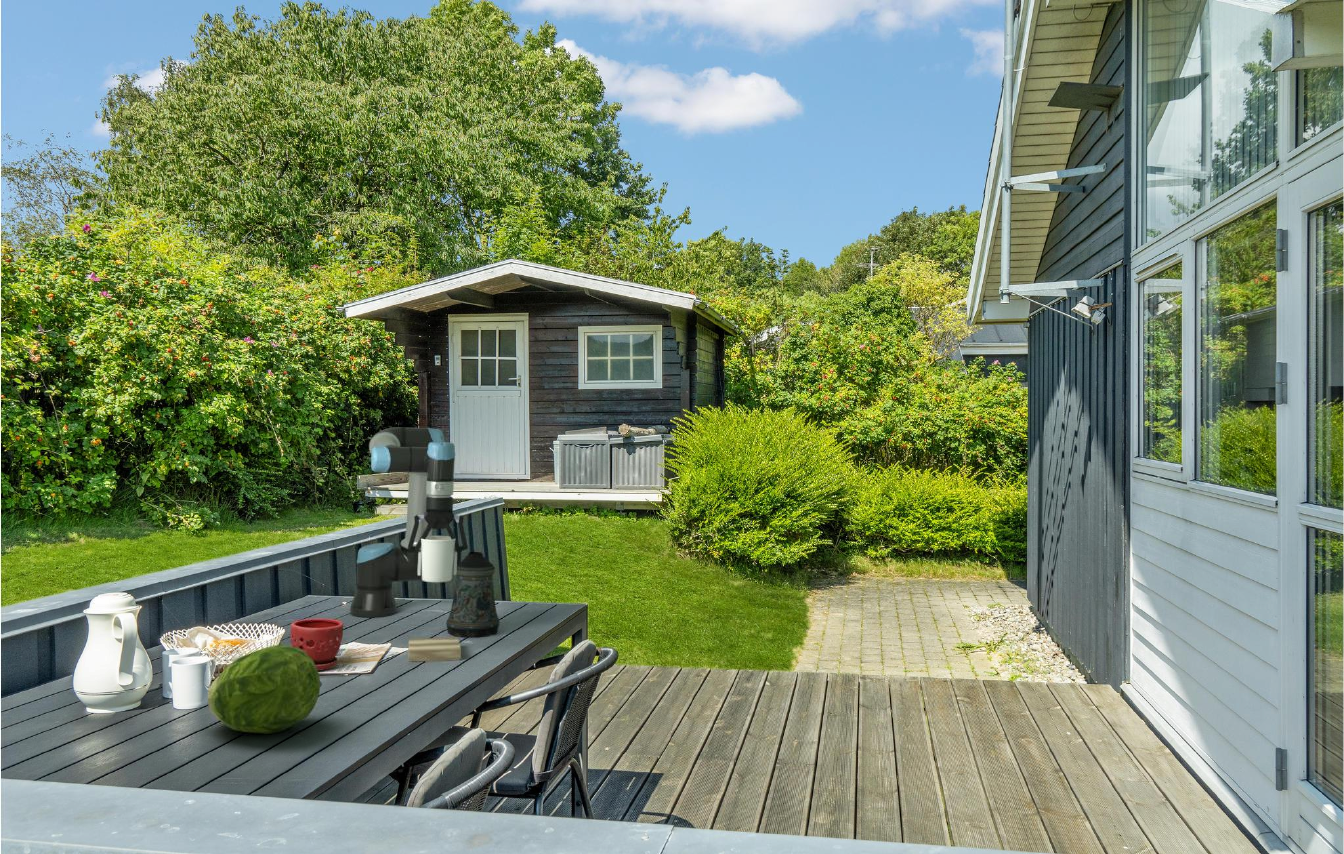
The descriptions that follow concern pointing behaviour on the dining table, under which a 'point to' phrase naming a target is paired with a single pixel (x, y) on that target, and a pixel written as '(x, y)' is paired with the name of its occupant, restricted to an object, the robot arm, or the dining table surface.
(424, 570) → the candle holder
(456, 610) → the beer stein
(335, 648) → the plant pot
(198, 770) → the dining table surface
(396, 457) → the robot arm
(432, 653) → the plinth
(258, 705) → the lettuce
